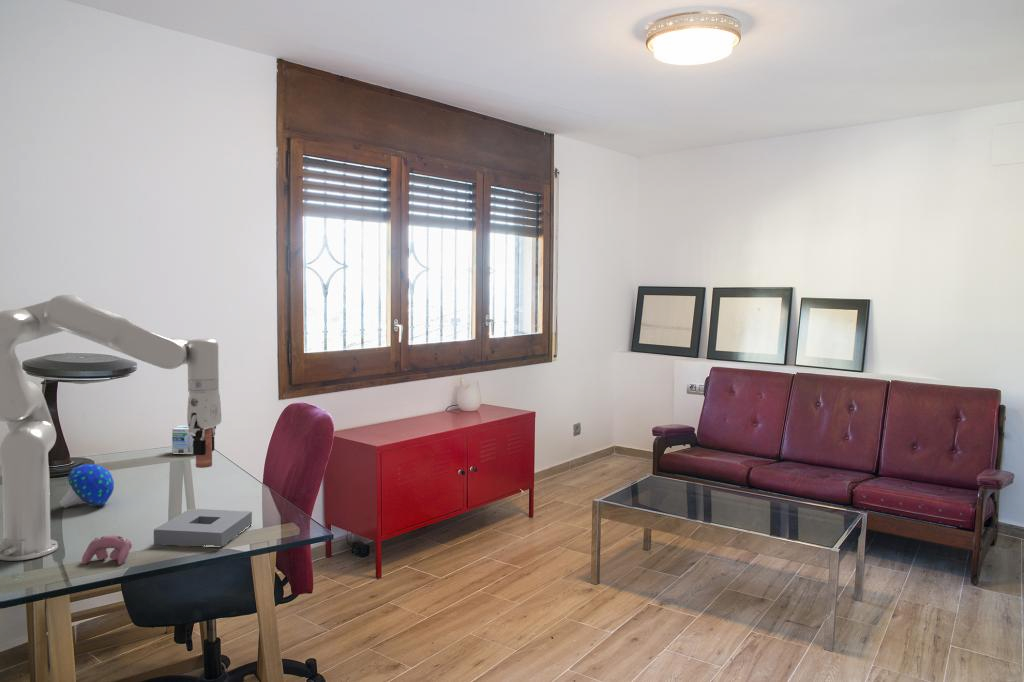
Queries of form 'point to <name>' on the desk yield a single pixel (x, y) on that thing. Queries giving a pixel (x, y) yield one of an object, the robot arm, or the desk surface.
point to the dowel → (206, 459)
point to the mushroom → (88, 486)
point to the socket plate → (202, 527)
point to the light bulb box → (181, 440)
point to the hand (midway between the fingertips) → (203, 452)
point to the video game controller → (103, 543)
